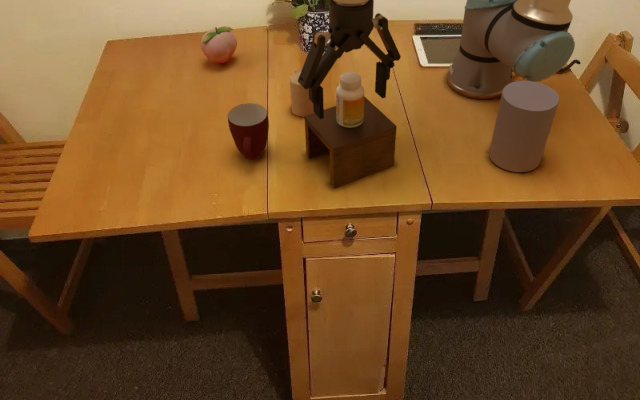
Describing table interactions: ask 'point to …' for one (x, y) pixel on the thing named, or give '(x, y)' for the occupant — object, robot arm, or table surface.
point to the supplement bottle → (350, 100)
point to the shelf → (352, 143)
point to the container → (523, 125)
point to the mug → (249, 129)
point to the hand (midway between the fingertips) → (350, 104)
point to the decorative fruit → (219, 44)
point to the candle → (299, 97)
